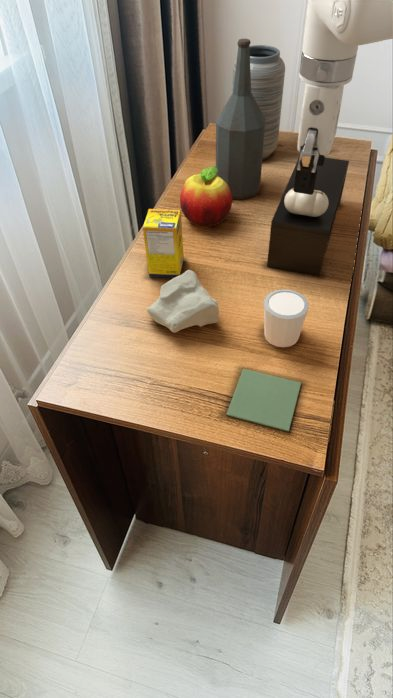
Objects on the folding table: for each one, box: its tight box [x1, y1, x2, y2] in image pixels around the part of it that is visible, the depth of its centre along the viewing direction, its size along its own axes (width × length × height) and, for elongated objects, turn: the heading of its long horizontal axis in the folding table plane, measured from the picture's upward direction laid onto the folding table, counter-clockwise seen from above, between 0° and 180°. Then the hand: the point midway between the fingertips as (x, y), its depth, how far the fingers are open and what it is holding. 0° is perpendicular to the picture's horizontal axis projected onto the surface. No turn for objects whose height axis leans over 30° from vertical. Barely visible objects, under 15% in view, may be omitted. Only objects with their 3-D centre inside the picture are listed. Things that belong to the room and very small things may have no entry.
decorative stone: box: [146, 269, 220, 333], centre depth 83 cm, size 11×9×10 cm
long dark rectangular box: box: [266, 155, 350, 278], centre depth 97 cm, size 10×26×10 cm, turn 161°
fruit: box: [179, 165, 233, 228], centre depth 102 cm, size 11×11×10 cm
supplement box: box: [142, 208, 185, 278], centre depth 90 cm, size 6×6×11 cm
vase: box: [231, 44, 286, 161], centre depth 117 cm, size 12×12×23 cm
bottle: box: [215, 38, 265, 200], centre depth 103 cm, size 10×10×30 cm
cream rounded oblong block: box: [284, 188, 329, 217], centre depth 86 cm, size 8×4×4 cm, turn 71°
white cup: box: [263, 288, 310, 348], centre depth 79 cm, size 7×7×7 cm
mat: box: [226, 368, 302, 432], centre depth 73 cm, size 9×9×1 cm
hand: (308, 177), depth 83 cm, fingers open, 9 cm apart
